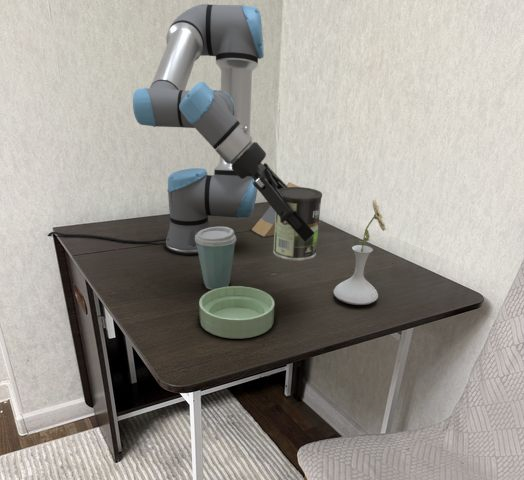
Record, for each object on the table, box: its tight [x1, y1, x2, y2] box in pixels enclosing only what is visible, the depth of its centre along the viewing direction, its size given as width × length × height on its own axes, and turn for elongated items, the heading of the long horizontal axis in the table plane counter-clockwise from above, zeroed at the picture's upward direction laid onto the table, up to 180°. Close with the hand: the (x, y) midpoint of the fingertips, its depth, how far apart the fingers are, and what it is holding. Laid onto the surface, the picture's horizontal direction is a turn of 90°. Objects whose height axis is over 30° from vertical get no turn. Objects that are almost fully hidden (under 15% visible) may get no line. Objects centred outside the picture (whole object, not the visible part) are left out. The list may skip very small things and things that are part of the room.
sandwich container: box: [251, 181, 300, 238], centre depth 166 cm, size 9×15×15 cm, turn 122°
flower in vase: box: [333, 199, 387, 306], centre depth 118 cm, size 13×11×25 cm
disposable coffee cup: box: [195, 226, 237, 291], centre depth 125 cm, size 11×11×15 cm
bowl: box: [198, 285, 276, 339], centre depth 111 cm, size 17×17×5 cm
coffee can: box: [272, 186, 323, 262], centre depth 110 cm, size 10×10×14 cm
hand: (309, 229), depth 110 cm, fingers closed on coffee can, 10 cm apart
